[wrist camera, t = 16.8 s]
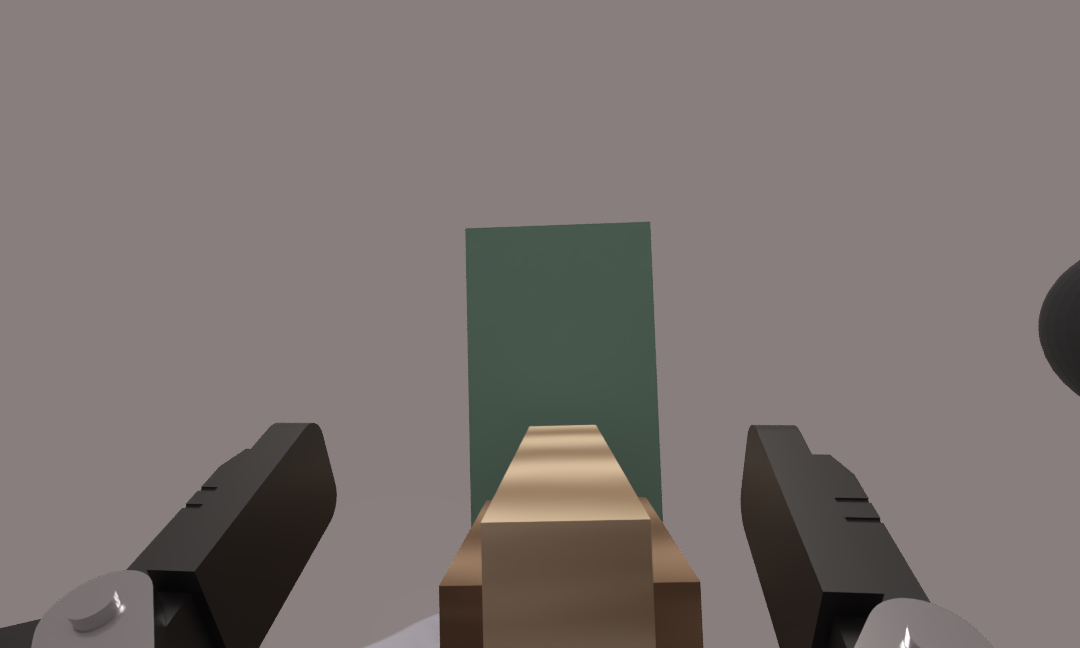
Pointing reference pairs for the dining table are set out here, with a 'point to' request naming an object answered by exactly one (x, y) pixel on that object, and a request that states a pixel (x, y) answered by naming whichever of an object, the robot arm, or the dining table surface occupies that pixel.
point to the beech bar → (566, 549)
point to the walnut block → (670, 583)
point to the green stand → (561, 345)
